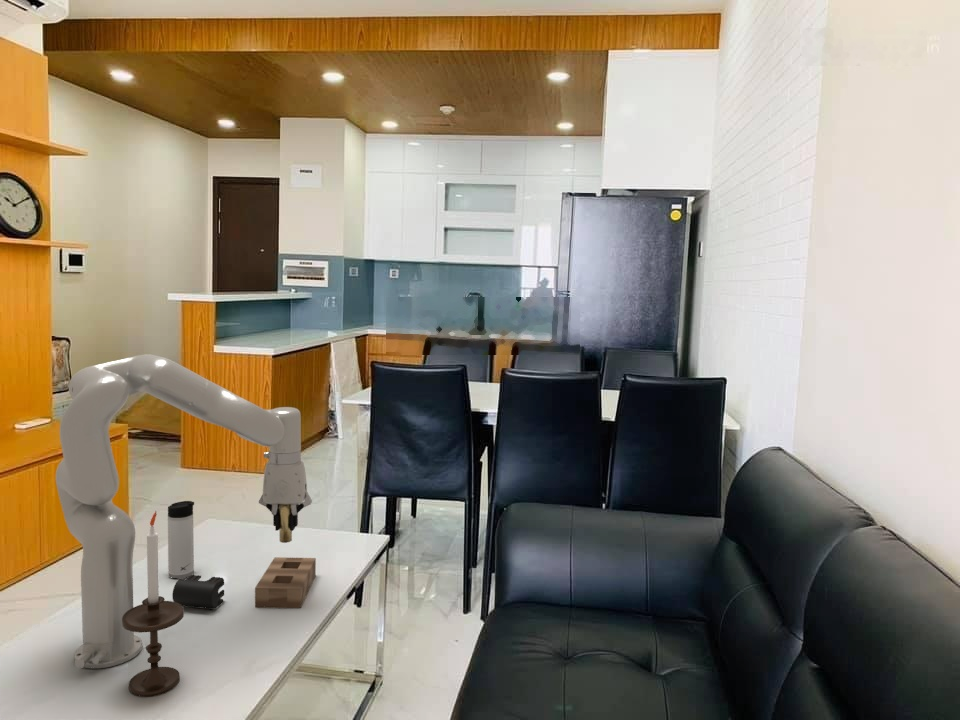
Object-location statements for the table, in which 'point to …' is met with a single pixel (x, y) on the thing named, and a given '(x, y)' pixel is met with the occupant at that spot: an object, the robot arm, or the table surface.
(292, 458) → the robot arm
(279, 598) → the hole block
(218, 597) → the end cap
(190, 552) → the travel mug
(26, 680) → the table surface
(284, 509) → the brass peg
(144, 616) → the candlestick
